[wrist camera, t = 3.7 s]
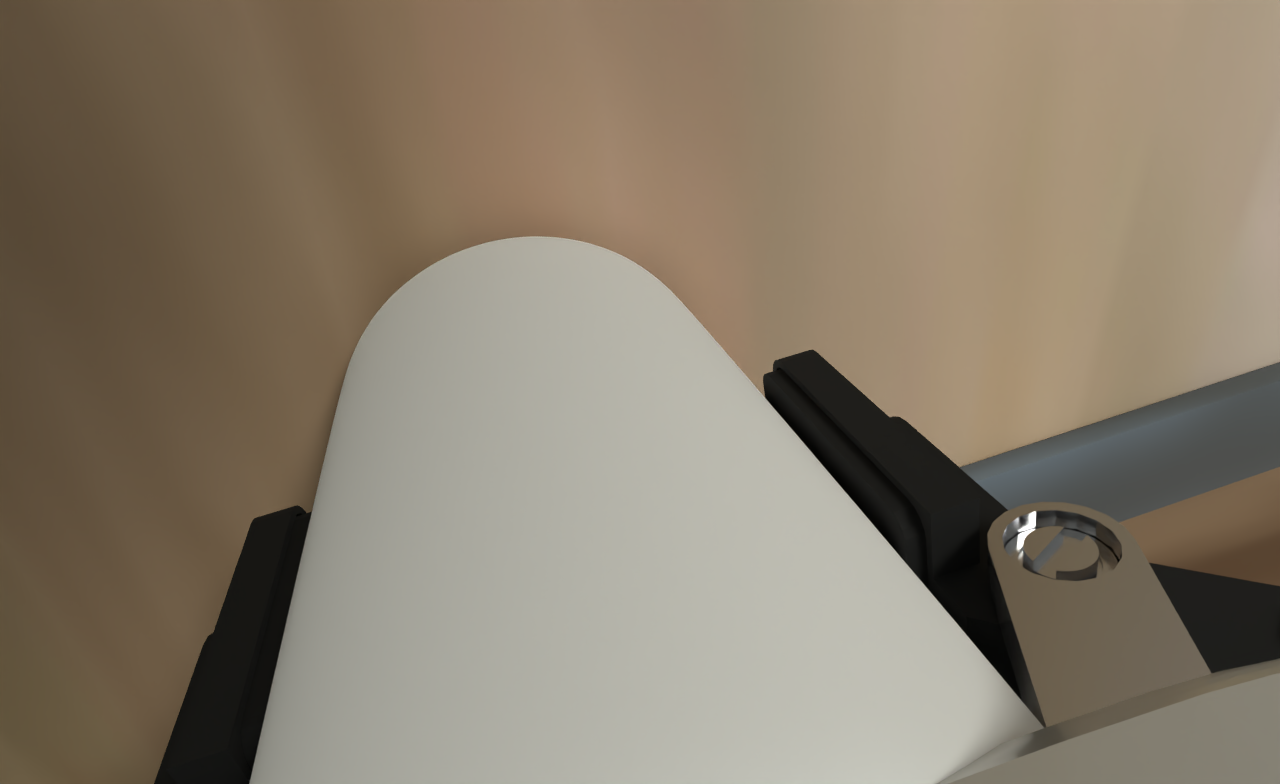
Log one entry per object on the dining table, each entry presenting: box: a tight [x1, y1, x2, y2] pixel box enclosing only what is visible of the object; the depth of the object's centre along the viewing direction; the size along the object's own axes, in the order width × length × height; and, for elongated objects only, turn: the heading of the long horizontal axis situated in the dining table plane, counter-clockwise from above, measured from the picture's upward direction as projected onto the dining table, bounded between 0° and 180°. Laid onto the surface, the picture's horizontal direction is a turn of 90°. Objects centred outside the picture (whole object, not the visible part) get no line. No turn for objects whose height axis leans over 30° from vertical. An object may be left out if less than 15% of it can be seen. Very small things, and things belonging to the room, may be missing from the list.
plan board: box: [960, 362, 1280, 586], centre depth 19 cm, size 16×20×5 cm
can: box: [249, 236, 1044, 784], centre depth 9 cm, size 6×6×12 cm
